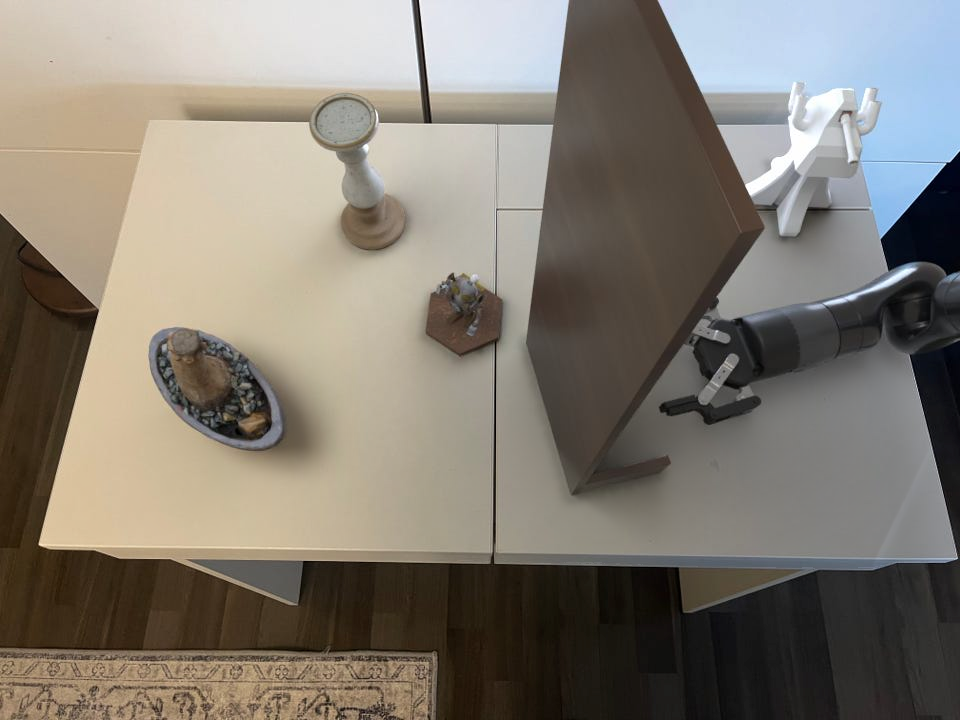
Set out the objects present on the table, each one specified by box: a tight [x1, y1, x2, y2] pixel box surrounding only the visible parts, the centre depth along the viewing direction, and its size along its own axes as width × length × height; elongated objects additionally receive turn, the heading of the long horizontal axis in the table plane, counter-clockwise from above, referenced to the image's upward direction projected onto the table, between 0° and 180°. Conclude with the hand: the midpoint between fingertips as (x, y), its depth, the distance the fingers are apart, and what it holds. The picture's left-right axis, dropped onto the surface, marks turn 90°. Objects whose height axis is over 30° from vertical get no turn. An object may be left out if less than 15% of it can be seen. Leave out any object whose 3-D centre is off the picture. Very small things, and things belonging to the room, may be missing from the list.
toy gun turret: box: [745, 82, 883, 238], centre depth 82 cm, size 12×13×18 cm
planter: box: [147, 326, 287, 452], centre depth 72 cm, size 15×17×20 cm
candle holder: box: [308, 92, 406, 251], centre depth 81 cm, size 9×9×20 cm
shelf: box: [525, 0, 766, 496], centre depth 54 cm, size 11×20×56 cm, turn 14°
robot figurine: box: [425, 272, 503, 357], centre depth 79 cm, size 11×9×12 cm
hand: (648, 373), depth 74 cm, fingers open, 8 cm apart
